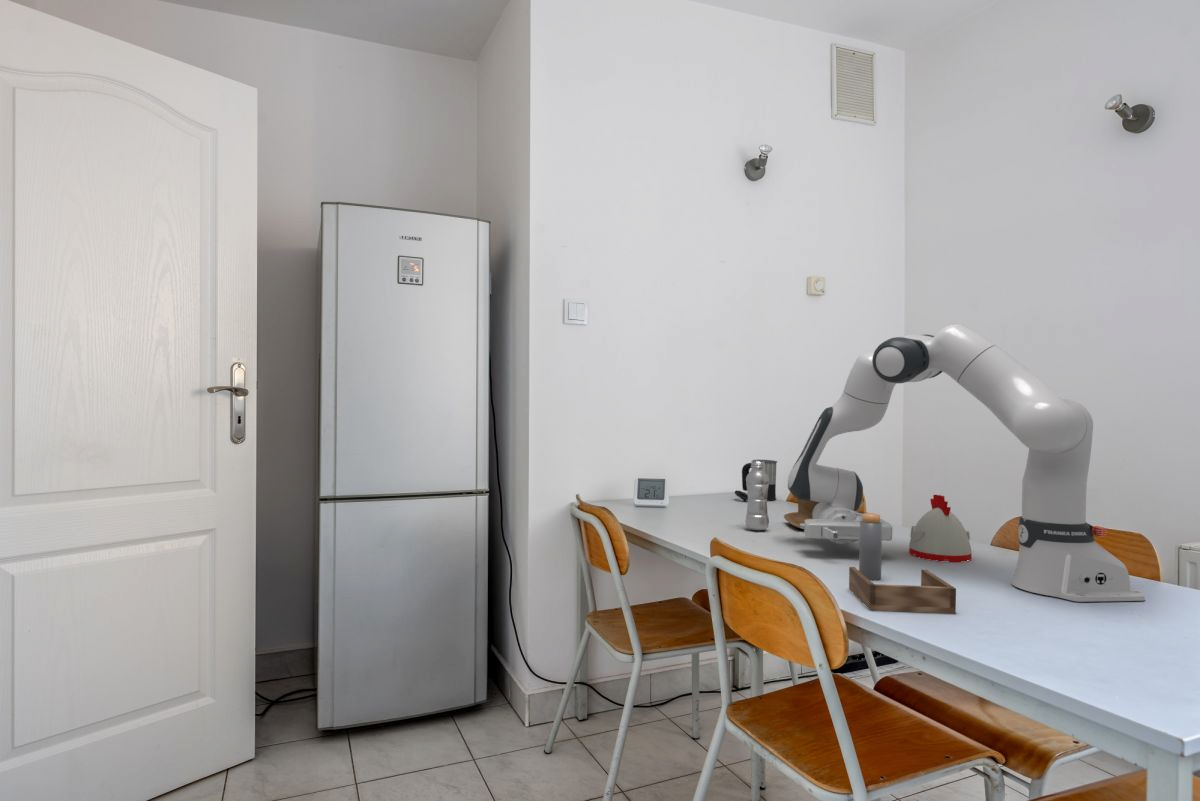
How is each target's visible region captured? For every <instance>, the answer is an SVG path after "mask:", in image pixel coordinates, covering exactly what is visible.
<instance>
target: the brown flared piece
mask: <svg viewBox="0 0 1200 801" xmlns="http://www.w3.org/2000/svg"><path fill="white" fill-rule="evenodd" d="M796 500H797V512H796V511H795V512H789V513H786V514H784V515H783V518H784V519H785V521H787V522H788V523H789V524H790V525H792V526H793V527H795V528H798V529H802V528H801V527H800V526H799V525H800V524H801V523H802V524H804V523H805V520H806V519H813V518H812V512H813V509H814V507H815V506H816V505H817V504H818V503H820V502H816V501H811V500H810V501H807V500H798V499H796ZM802 530H803V529H802Z"/></svg>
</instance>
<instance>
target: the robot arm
mask: <svg viewBox="0 0 1200 801" xmlns="http://www.w3.org/2000/svg"><path fill="white" fill-rule="evenodd" d="M942 373H945V374H946V375H947V376H949V377H950V378H951V379H952V380H954V381H955V382H956V383H957V384H958V385H959V386H961V387H962V388H963V389H964V390H966V391H967V392H968V393H969V394H970V395H972V396H973V397H974V398H975V399H977V400H978V401H979V402H980V403H982V404H983V405H984V406H985V407H986V408H987V409H988V410H989V411H990V412H991V413H992V414H993V415H994V416H995V417H996V418H997V419H998V420H999V422H1001V423H1002V425H1004V426H1005V427H1006V429H1007V430H1009V432H1010V433H1012V434H1013V435H1014V436H1015V437H1016V438H1017V439H1018V440H1019V441H1020V442H1021V444H1022V445H1024V446H1025V447H1026V448H1028V455H1027V460H1026V465H1025V470H1024V474H1023V477H1022V480H1021V481H1022V484H1021V516H1020V517H1019V518H1018V520H1019V521H1018V543H1019V549H1018V557H1017V561H1016V566H1015V570H1014V574H1013V577H1012V579H1011V582H1010V583H1011V585H1013V587H1016V588H1017V589H1018V588H1019V589H1020V590H1024V591H1027V592H1029V593H1035V594H1038V595H1044V596H1048V597H1049V596H1050V597H1053V598H1054V597H1055V598H1061V599H1064V600H1066V601H1067V600H1068V601H1072V602H1078V603H1079V602H1080V603H1083V602H1085V603H1086V602H1092V603H1093V602H1135V601H1136V602H1139V601H1140V602H1142V601H1143V602H1144V601H1145V594H1144V593H1143V592H1142V591H1140V590H1139V589H1136V588H1135V587H1132V586H1131V580H1130V579H1131V578H1130V574H1129V570H1128V568H1127V567H1126V565H1125V564H1124V562H1122V561H1121V560H1120V559H1118V558H1117V557H1116V556H1115V555H1113V554H1112V553H1110V552H1109V551H1108V550H1106V549H1105V548H1104V547H1103V546H1101V545H1100V544H1099V543H1097V542H1096V539H1095V537H1094V536H1097V537H1099V538H1105V537H1106V536H1107V535H1108V531H1107V529H1106V528H1105V527H1103V526H1100V525H1095V526H1093V525H1091V524H1090V523H1088V522H1086V521H1087V519H1086V518H1087V486H1088V485H1087V482H1088V475H1089V468H1090V462H1091V454H1092V453H1091V452H1092V444H1093V443H1092V442H1093V433H1094V432H1093V431H1094V421H1093V418H1092V415H1091V413H1090V411H1089V410H1088V409H1087V408H1086V407H1085V406H1084V405H1082V404H1081V403H1079V402H1077V401H1075V400H1072V399H1071V400H1070V399H1066V398H1061V397H1060V396H1058V395H1057V394H1056V393H1055V392H1054V391H1052V390H1051V389H1050V388H1048V387H1047V386H1046V385H1045V384H1044V383H1043V382H1042V381H1041V380H1040V379H1039V378H1037V377H1036V376H1035V375H1034V373H1032V371H1030V370H1029V369H1028V368H1027V367H1026V366H1025V365H1023V364H1022V363H1021V362H1020V361H1018V360H1017V359H1015V358H1014V357H1012V356H1011V355H1010V354H1008V352H1006V351H1005V350H1003V349H1002V348H1001V347H1000V346H998V345H997V344H995V343H994V342H992V340H990V339H988V338H987V337H986V336H984V335H982V334H980V332H979V333H978V332H977V331H975V330H973V329H971V328H969V327H967V326H965V325H963V324H959V323H958V324H957V323H954V324H952V323H951V324H949V325H947V326H945V327H943V328H941V329H940V330H939V331H938V332H937V333H936V334H935V335H933V334H932V335H931V334H907V335H906V334H905V335H901V336H896V337H890V338H889V339H886V340H884V341H883V342H882V343H881V344H879V345H878V346H877V347H876V348H875V350H874V351H873V350H872V351H866V352H863V353H862V354H860V355H858V357H857V358H856V360H855V362H854V364H853V365H852V367H851V370H850V372H849V374H848V377H847V380H846V381H845V382H846V383H845V385H844V388H843V391H842V394H841V396H840V397H839V398H838V400H837V401H836V402H835V403H834V404H833V405H832V406H829V407H826V408H825V409H824V410H823V411H822V413H821V414H820V415H819V417H818V418H817V419H818V420H817V421H816V423H815V424H814V427H813V429H811V430H812V431H811V432H810V434H809V436H808V438H807V441H806V443H805V445H804V447H803V449H802V451H801V453H800V455H799V456H798V458H797V460H796V461H795V463H794V465H793V466H792V468H791V469H790V471H789V474H788V478H787V489H788V490H789V492H790V493H791V495H792V496H794V498H795V499H796V500H797V499H798V500H807V501H810V500H811V501H816V502H820V503H818V504H817V505H816V506H815V507H814V509H813V512H812V518H813V519H806V520H805V523H804V524H802V523H801V524H800V525H799V526H800V527H801V528H802V530H803V532H804V533H803V534H804V536H805V537H806V538H808V539H825V540H826V539H827V540H829V541H831V542H832V543H835V544H838V545H846V544H850V543H855V542H860V521H862V514H863V513H865V512H864V511H858V510H859V509H860V507H861V504H862V501H863V495H864V487H863V483H862V481H861V479H860V477H859V475H858V474H857V473H856V472H855V471H853V470H849V469H845V468H838V467H832V466H827V465H822V464H818V461H819V459H820V457H821V455H822V453H823V452H824V449H825V447H826V446H827V445H828V442H829V441H830V440H831V439H832V438H834V437H836V436H838V435H842V434H845V433H846V434H847V433H852V432H860V431H865V430H868V429H871V428H872V427H875V426H876V425H877V424H879V423H880V422H881V421H882V420H883V418H884V417H885V415H886V412H887V409H888V407H889V404H890V400H891V397H892V394H893V391H894V388H895V386H896V385H897V384H904V383H917V382H921V381H922V382H923V381H924V380H927V379H932V378H935V377H938V376H939V375H940V374H942ZM798 500H797V501H798ZM880 522H882V541H889V542H890V541H892V539H893V526H892V524H891V523H890V522H888V521H886V520H884V519H882V518H880ZM801 528H800V529H801Z"/></svg>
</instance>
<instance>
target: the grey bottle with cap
mask: <svg viewBox="0 0 1200 801" xmlns="http://www.w3.org/2000/svg"><path fill="white" fill-rule="evenodd" d="M880 519H881V514H879V513H873V512H870V513H869V512H864V513H863V514H862V521H860V541H859V554H858V555H859V556H858V558H859V561H858V564H859V567H858V571H860V572H861V573H862V574H863V575H864V576H865V577H867V578H868V579H869V580H870V581H874V580H876V581H880V579H881V580H882V548H883V547H882V543H883V542H882V541H883V540H882V522H880Z"/></svg>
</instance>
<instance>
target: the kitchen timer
mask: <svg viewBox="0 0 1200 801" xmlns="http://www.w3.org/2000/svg"><path fill="white" fill-rule="evenodd" d="M932 496H933V497H932V498H930V505H931V506H930V507H931V509H930V510H928V511H927V512H925V514H923V515H922V516H921V517H920V518H919V519H918V521H917V523H916V524H915V525H912V526H911V527H910V528H911V529H910V536H909V537H910V540H909V545H908V547H909V548H908V553H910V554H911V556H912V555H913V557H915V556H916V557H915V558H918V557H920V558H919V559H922V558H924V559H923V560H926V559H931V560H930V561H932V560H938V561H937V562H940V561H949V562H948V563H962V562H961V561H967V560H970V559H971V560H972V547H971V543H970V539H971V536H970V530H966V529H965V527H964V525H963V524H962V522H961V521H960V519H959V518H958V517H957V516H956V514H954V513H953V512H952V511H951V507H952V506H948V503H949V502H948V500H947V501H946V500H945V495H942V494H932ZM910 554H909V555H910ZM971 560H970V561H971ZM967 562H968V561H967Z"/></svg>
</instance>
